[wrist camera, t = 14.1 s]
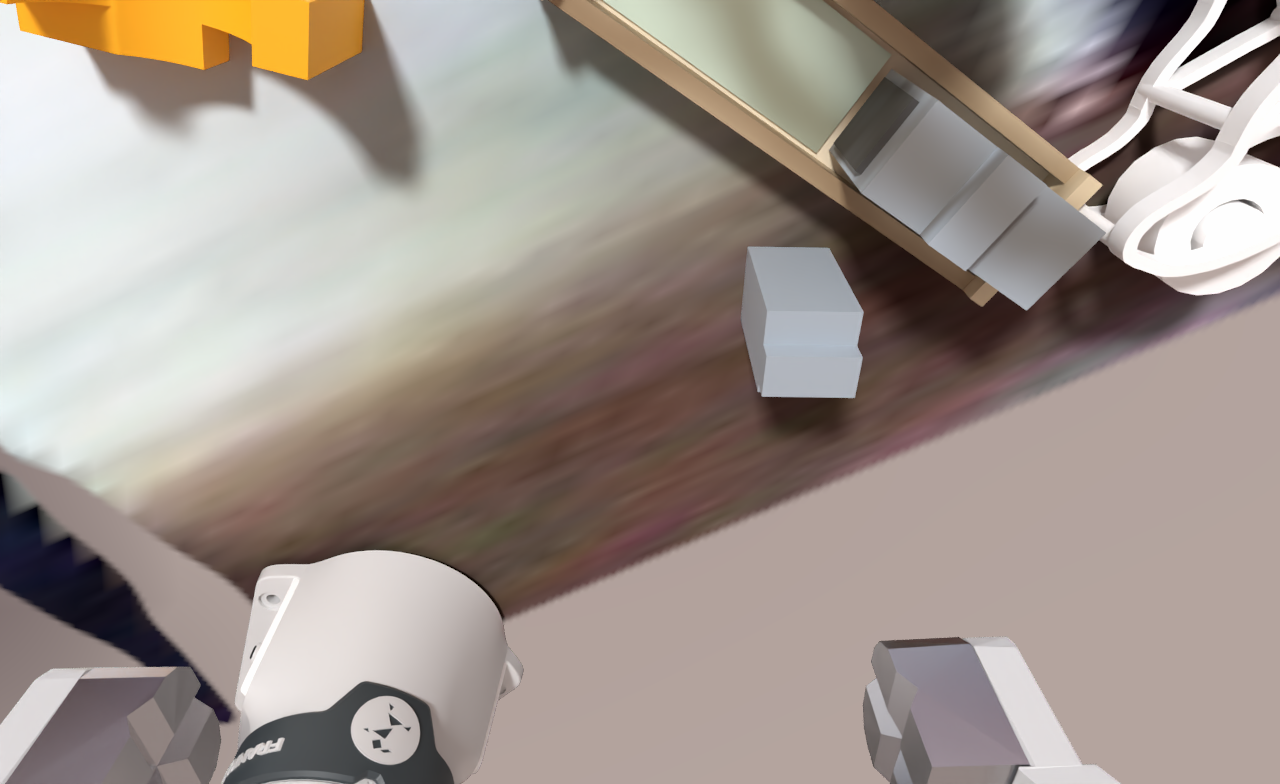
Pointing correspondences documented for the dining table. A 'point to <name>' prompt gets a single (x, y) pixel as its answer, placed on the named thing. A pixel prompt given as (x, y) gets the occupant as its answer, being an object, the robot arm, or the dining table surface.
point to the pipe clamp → (206, 30)
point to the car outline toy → (1197, 169)
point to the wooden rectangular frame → (872, 129)
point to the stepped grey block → (800, 323)
